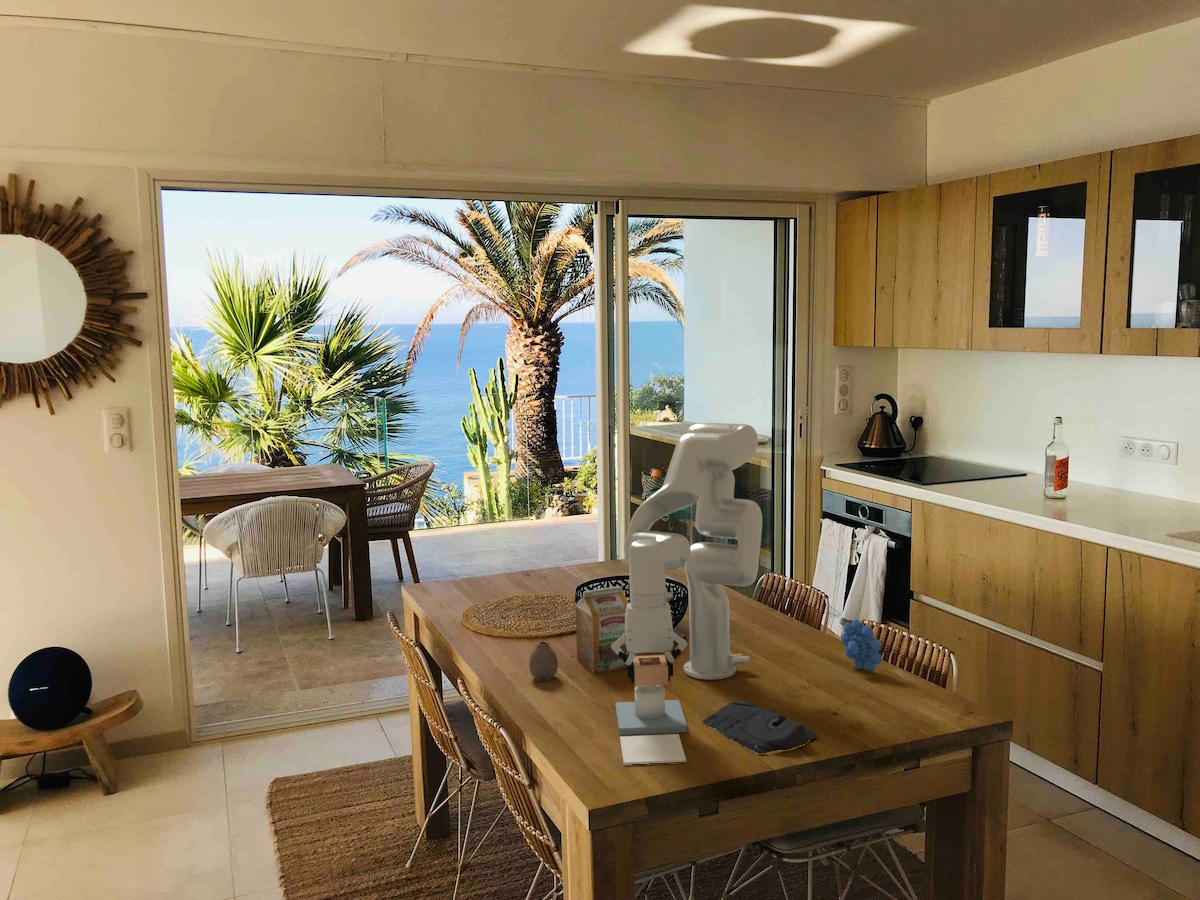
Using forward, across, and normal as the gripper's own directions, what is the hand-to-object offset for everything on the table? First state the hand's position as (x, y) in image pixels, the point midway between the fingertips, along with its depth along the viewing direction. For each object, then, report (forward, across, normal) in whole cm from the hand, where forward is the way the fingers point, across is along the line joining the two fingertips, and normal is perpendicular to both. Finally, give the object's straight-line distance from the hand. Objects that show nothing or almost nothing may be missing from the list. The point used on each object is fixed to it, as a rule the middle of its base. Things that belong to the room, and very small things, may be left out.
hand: (650, 679), depth 210 cm
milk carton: (+10, +8, -36) cm, 39 cm away
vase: (+9, +23, -28) cm, 37 cm away
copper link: (0, 0, 0) cm, 0 cm away
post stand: (+9, 0, 0) cm, 9 cm away
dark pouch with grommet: (+10, -21, +8) cm, 25 cm away
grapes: (+10, -52, -24) cm, 58 cm away
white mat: (+9, +1, +16) cm, 18 cm away
